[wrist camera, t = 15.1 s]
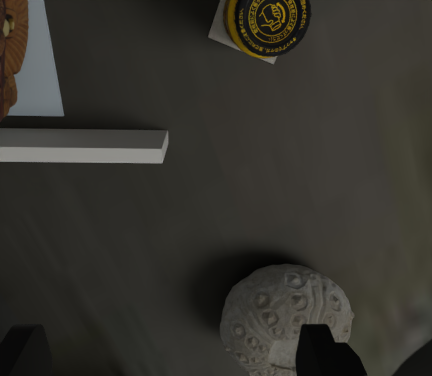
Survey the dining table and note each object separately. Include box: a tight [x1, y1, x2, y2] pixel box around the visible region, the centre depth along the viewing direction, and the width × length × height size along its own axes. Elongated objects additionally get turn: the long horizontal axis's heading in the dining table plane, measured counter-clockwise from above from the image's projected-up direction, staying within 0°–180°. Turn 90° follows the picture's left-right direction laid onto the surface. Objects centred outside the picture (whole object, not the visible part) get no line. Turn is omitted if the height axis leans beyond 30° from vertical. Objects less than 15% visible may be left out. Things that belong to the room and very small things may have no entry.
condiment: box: [208, 0, 311, 64], centre depth 28 cm, size 7×8×12 cm
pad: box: [7, 0, 64, 116], centre depth 34 cm, size 17×7×1 cm, turn 179°
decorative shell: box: [220, 264, 355, 376], centre depth 46 cm, size 18×18×10 cm
